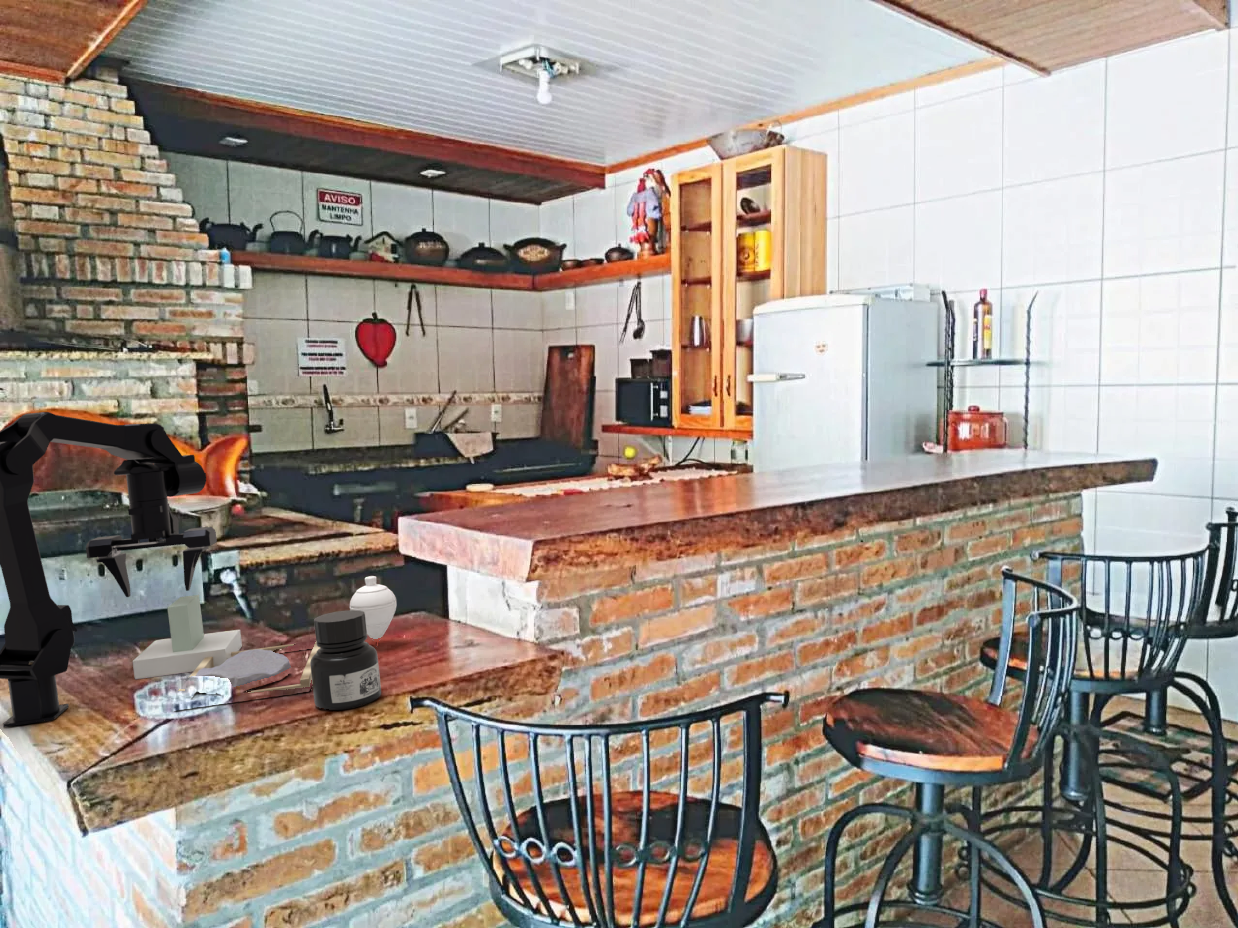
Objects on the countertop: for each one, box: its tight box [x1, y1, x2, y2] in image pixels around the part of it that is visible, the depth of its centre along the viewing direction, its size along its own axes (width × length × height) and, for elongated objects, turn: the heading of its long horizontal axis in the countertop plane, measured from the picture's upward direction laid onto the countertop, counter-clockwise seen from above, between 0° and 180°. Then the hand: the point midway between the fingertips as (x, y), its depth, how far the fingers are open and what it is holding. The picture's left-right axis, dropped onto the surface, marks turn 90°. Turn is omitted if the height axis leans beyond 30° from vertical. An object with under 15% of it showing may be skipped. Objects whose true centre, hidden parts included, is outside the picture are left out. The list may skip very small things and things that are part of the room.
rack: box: [177, 642, 320, 693], centre depth 147 cm, size 27×18×2 cm
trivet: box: [132, 629, 243, 680], centre depth 159 cm, size 14×14×3 cm
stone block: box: [196, 648, 292, 687], centre depth 144 cm, size 12×5×10 cm
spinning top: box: [349, 575, 397, 640], centre depth 159 cm, size 8×8×12 cm
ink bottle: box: [310, 609, 382, 711], centre depth 130 cm, size 10×9×12 cm
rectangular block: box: [167, 594, 205, 652], centre depth 159 cm, size 9×3×8 cm, turn 12°
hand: (158, 593), depth 156 cm, fingers open, 9 cm apart
